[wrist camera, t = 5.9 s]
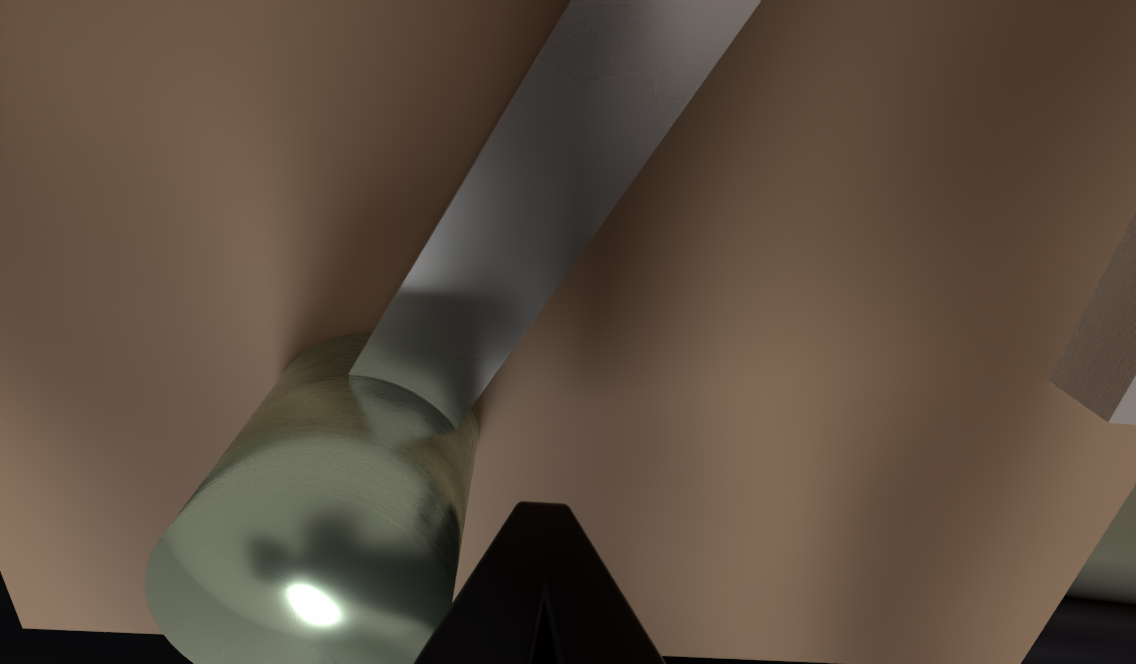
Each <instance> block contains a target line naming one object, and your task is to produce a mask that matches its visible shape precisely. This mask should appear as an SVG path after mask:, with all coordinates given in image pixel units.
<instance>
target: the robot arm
mask: <svg viewBox="0 0 1136 664" xmlns="http://www.w3.org/2000/svg"><path fill="white" fill-rule="evenodd" d="M413 664H666V663H665V661H664V659H663V658H662V656H661V655H660V653H659V651H658V650H657V648H656V646H655V645H654V643H653V642H652V640H651V638H650V637H649V635H648V633H647V632H646V630H645V629H644V627H643V625H642V624H641V622H640V620H639V619H638V617H637V616H636V614H635V612H634V611H633V609H632V607H631V606H630V604H629V603H628V601H627V599H626V598H625V596H624V594H623V593H622V591H621V590H620V588H619V586H618V585H617V583H616V581H615V580H614V578H613V577H612V575H611V573H610V572H609V570H608V568H607V567H606V565H605V564H604V562H603V560H602V559H601V557H600V555H599V554H598V552H597V551H596V549H595V547H594V546H593V544H592V542H591V541H590V539H589V538H588V536H587V534H586V533H585V531H584V529H583V528H582V526H581V525H580V523H579V521H578V520H577V518H576V516H575V515H574V513H573V512H572V510H571V508H570V507H569V506H568V505H567V504H564V503H548V502H532V501H520V502H518V503H517V504H516V506H515V507H514V508H513V510H512V512H511V513H510V515H509V516H508V518H507V519H506V521H505V522H504V524H503V525H502V527H501V529H500V530H499V532H498V533H497V535H496V536H495V538H494V539H493V541H492V542H491V544H490V545H489V547H488V549H487V550H486V552H485V553H484V555H483V556H482V558H481V559H480V561H479V562H478V564H477V566H476V567H475V569H474V570H473V572H472V573H471V575H470V576H469V578H468V579H467V581H466V582H465V584H464V586H463V587H462V589H461V590H460V592H459V593H458V595H457V596H456V598H455V599H454V601H453V603H452V604H451V606H450V607H449V609H448V610H447V612H446V613H445V615H444V616H443V618H442V619H441V621H440V623H439V624H438V626H437V627H436V629H435V630H434V632H433V633H432V635H431V636H430V638H429V640H428V641H427V643H426V644H425V646H424V647H423V649H422V650H421V652H420V653H419V655H418V656H417V658H416V660H415V661H414V663H413Z"/></svg>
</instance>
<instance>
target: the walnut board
mask: <svg viewBox="0 0 1136 664" xmlns="http://www.w3.org/2000/svg"><path fill="white" fill-rule="evenodd" d="M570 1H571V0H0V571H1V573H2V576H3V579H4V581H5V584H6V586H7V589H8V591H9V594H10V597H11V599H12V602H13V604H14V607H15V609H16V612H17V615H18V617H19V620H20V622H21V625H22V627H23V628H31V629H54V630H78V631H101V632H124V633H147V634H163V633H162V631H161V630H160V628H159V626H158V625H157V623H156V622H155V620H154V618H153V616H152V613H151V611H150V608H149V606H148V602H147V597H146V593H145V573H146V568H147V563H148V560H149V558H150V555H151V553H152V550H153V549H154V547H155V546H156V544H157V543H158V541H159V540H160V538H161V537H162V535H163V534H164V533H165V531H166V530H167V529H168V527H169V526H170V525H171V523H172V522H173V521H174V519H175V518H176V516H177V515H178V514H179V512H180V511H181V510H182V508H183V507H184V506H185V504H186V503H187V502H188V500H189V499H190V498H191V496H192V495H193V494H194V492H195V491H196V490H197V488H198V487H199V486H200V484H201V483H202V482H203V480H204V479H205V478H206V476H207V475H208V474H209V472H210V471H211V470H212V468H213V467H214V466H215V464H216V463H217V462H218V460H219V459H220V457H221V456H222V455H223V453H224V452H225V451H226V449H227V448H228V447H229V445H230V444H231V443H232V441H233V440H234V439H235V437H236V436H237V435H238V433H239V432H240V431H241V429H242V428H243V427H244V425H245V424H246V423H247V421H248V420H249V419H250V417H251V416H252V415H253V413H254V412H255V411H256V409H257V408H258V407H259V405H260V404H261V403H262V401H263V400H264V398H265V397H266V396H267V394H268V393H269V392H270V390H271V389H272V388H273V386H274V385H275V384H276V382H277V381H278V380H279V378H280V377H281V376H282V374H283V373H284V372H285V370H286V369H287V368H288V366H289V365H290V364H291V363H292V362H293V361H294V360H295V359H296V358H297V357H298V356H299V355H301V354H302V353H303V352H305V351H306V350H307V349H309V348H311V347H313V346H314V345H316V344H318V343H321V342H323V341H326V340H328V339H331V338H335V337H339V336H343V335H351V334H371V333H372V331H373V329H374V328H375V326H376V324H377V323H378V321H379V319H380V318H381V316H382V314H383V313H384V311H385V309H386V308H387V306H388V304H389V303H390V301H391V299H392V298H393V296H394V294H395V293H396V291H397V289H398V288H399V286H400V284H401V283H402V281H403V279H404V278H405V276H406V274H407V273H408V271H409V269H410V268H411V266H412V264H413V263H414V261H415V259H416V258H417V256H418V254H419V253H420V251H421V249H422V248H423V246H424V244H425V243H426V241H427V239H428V238H429V236H430V234H431V233H432V231H433V229H434V228H435V226H436V224H437V223H438V221H439V219H440V218H441V216H442V214H443V213H444V211H445V209H446V208H447V206H448V204H449V203H450V201H451V199H452V198H453V196H454V194H455V193H456V191H457V189H458V188H459V186H460V184H461V183H462V181H463V179H464V178H465V176H466V174H467V173H468V171H469V169H470V168H471V166H472V164H473V163H474V161H475V159H476V158H477V156H478V154H479V153H480V151H481V149H482V148H483V146H484V144H485V143H486V141H487V139H488V138H489V136H490V134H491V133H492V131H493V129H494V128H495V126H496V124H497V123H498V121H499V119H500V118H501V116H502V114H503V113H504V111H505V109H506V108H507V106H508V104H509V103H510V101H511V99H512V98H513V96H514V94H515V93H516V91H517V89H518V88H519V86H520V84H521V83H522V81H523V79H524V78H525V76H526V74H527V73H528V71H529V69H530V68H531V66H532V64H533V63H534V61H535V59H536V58H537V56H538V54H539V52H540V51H541V49H542V47H543V46H544V44H545V42H546V41H547V39H548V37H549V36H550V34H551V32H552V31H553V29H554V27H555V26H556V24H557V22H558V21H559V19H560V17H561V16H562V14H563V12H564V11H565V9H566V7H567V6H568V4H569V2H570ZM1135 211H1136V0H761V2H760V3H759V4H758V6H757V7H756V9H755V10H754V11H753V13H752V14H751V16H750V17H749V18H748V20H747V21H746V23H745V24H744V26H743V27H742V28H741V30H740V31H739V33H738V34H737V35H736V37H735V38H734V40H733V41H732V42H731V44H730V45H729V47H728V48H727V49H726V51H725V52H724V54H723V55H722V56H721V58H720V59H719V61H718V62H717V63H716V65H715V66H714V68H713V69H712V70H711V72H710V73H709V75H708V76H707V77H706V79H705V80H704V82H703V83H702V84H701V86H700V87H699V89H698V90H697V91H696V93H695V94H694V96H693V97H692V98H691V100H690V101H689V103H688V104H687V106H686V107H685V108H684V110H683V111H682V113H681V114H680V115H679V117H678V118H677V120H676V121H675V122H674V124H673V125H672V127H671V128H670V129H669V131H668V132H667V134H666V135H665V136H664V138H663V139H662V141H661V142H660V143H659V145H658V146H657V148H656V149H655V150H654V152H653V153H652V155H651V156H650V157H649V159H648V160H647V162H646V163H645V164H644V166H643V167H642V169H641V170H640V171H639V173H638V174H637V176H636V177H635V179H634V180H633V181H632V183H631V184H630V186H629V187H628V188H627V190H626V191H625V193H624V194H623V195H622V197H621V198H620V200H619V201H618V202H617V204H616V205H615V207H614V208H613V209H612V211H611V212H610V214H609V215H608V216H607V218H606V219H605V221H604V222H603V223H602V225H601V226H600V228H599V229H598V230H597V232H596V233H595V235H594V236H593V237H592V239H591V240H590V242H589V243H588V244H587V246H586V247H585V249H584V250H583V251H582V253H581V254H580V256H579V257H578V259H577V260H576V261H575V263H574V264H573V266H572V267H571V268H570V270H569V271H568V273H567V274H566V275H565V277H564V278H563V280H562V281H561V282H560V284H559V285H558V287H557V288H556V289H555V291H554V292H553V294H552V295H551V296H550V298H549V299H548V301H547V302H546V303H545V305H544V306H543V308H542V309H541V310H540V312H539V313H538V315H537V316H536V317H535V319H534V320H533V322H532V323H531V324H530V326H529V327H528V329H527V330H526V331H525V333H524V334H523V336H522V337H521V339H520V340H519V341H518V343H517V344H516V346H515V347H514V348H513V350H512V351H511V353H510V354H509V355H508V357H507V358H506V360H505V361H504V362H503V364H502V365H501V367H500V368H499V369H498V371H497V372H496V374H495V375H494V376H493V378H492V379H491V381H490V382H489V383H488V385H487V386H486V388H485V389H484V390H483V392H482V393H481V395H480V396H479V397H478V399H477V400H476V402H475V405H476V409H477V413H478V419H479V434H478V442H477V449H476V455H475V461H474V468H473V474H472V480H471V487H470V493H469V499H468V506H467V512H466V519H465V525H464V531H463V538H462V544H461V550H460V557H459V563H458V569H457V576H456V582H455V588H454V595H453V601H454V599H455V598H456V596H457V595H458V593H459V592H460V590H461V589H462V587H463V586H464V584H465V582H466V581H467V579H468V578H469V576H470V575H471V573H472V572H473V570H474V569H475V567H476V566H477V564H478V562H479V561H480V559H481V558H482V556H483V555H484V553H485V552H486V550H487V549H488V547H489V545H490V544H491V542H492V541H493V539H494V538H495V536H496V535H497V533H498V532H499V530H500V529H501V527H502V525H503V524H504V522H505V521H506V519H507V518H508V516H509V515H510V513H511V512H512V510H513V508H514V507H515V506H516V504H517V503H518V502H520V501H532V502H548V503H564V504H567V505H568V506H569V507H570V508H571V510H572V512H573V513H574V515H575V516H576V518H577V520H578V521H579V523H580V525H581V526H582V528H583V529H584V531H585V533H586V534H587V536H588V538H589V539H590V541H591V542H592V544H593V546H594V547H595V549H596V551H597V552H598V554H599V555H600V557H601V559H602V560H603V562H604V564H605V565H606V567H607V568H608V570H609V572H610V573H611V575H612V577H613V578H614V580H615V581H616V583H617V585H618V586H619V588H620V590H621V591H622V593H623V594H624V596H625V598H626V599H627V601H628V603H629V604H630V606H631V607H632V609H633V611H634V612H635V614H636V616H637V617H638V619H639V620H640V622H641V624H642V625H643V627H644V629H645V630H646V632H647V633H648V635H649V637H650V638H651V640H652V642H653V643H654V645H655V646H656V648H657V650H658V651H659V653H660V655H661V656H681V657H704V658H727V659H750V660H773V661H797V662H820V663H843V664H1021V662H1022V661H1023V659H1024V657H1025V656H1026V654H1027V653H1028V651H1029V650H1030V648H1031V647H1032V645H1033V643H1034V642H1035V640H1036V639H1037V637H1038V636H1039V634H1040V633H1041V631H1042V629H1043V628H1044V626H1045V625H1046V623H1047V622H1048V620H1049V619H1050V617H1051V615H1052V614H1053V612H1054V611H1055V609H1056V608H1057V606H1058V604H1059V603H1060V601H1061V600H1062V598H1063V597H1064V595H1065V594H1066V592H1067V590H1068V589H1069V587H1070V586H1071V584H1072V583H1073V581H1074V580H1075V578H1076V576H1077V575H1078V573H1079V572H1080V570H1081V569H1082V567H1083V566H1084V564H1085V562H1086V561H1087V559H1088V558H1089V556H1090V555H1091V553H1092V551H1093V550H1094V548H1095V547H1096V545H1097V544H1098V542H1099V541H1100V539H1101V537H1102V536H1103V534H1104V533H1105V531H1106V530H1107V528H1108V527H1109V525H1110V523H1111V522H1112V520H1113V519H1114V517H1115V516H1116V514H1117V513H1118V511H1119V509H1120V508H1121V506H1122V505H1123V503H1124V502H1125V500H1126V498H1127V497H1128V495H1129V494H1130V492H1131V491H1132V489H1133V488H1134V486H1135V484H1136V425H1132V424H1119V423H1108V422H1106V421H1105V420H1104V419H1102V418H1101V417H1099V416H1098V415H1097V414H1095V413H1094V412H1092V411H1091V410H1089V409H1088V408H1087V407H1085V406H1084V405H1082V404H1081V403H1079V402H1078V401H1077V400H1075V399H1074V398H1072V397H1071V396H1070V395H1068V394H1067V393H1065V392H1064V391H1062V390H1061V389H1060V388H1058V387H1057V386H1055V385H1054V384H1053V383H1051V382H1050V381H1048V380H1049V378H1050V376H1051V374H1052V372H1053V370H1054V368H1055V366H1056V364H1057V362H1058V360H1059V358H1060V357H1061V355H1062V353H1063V351H1064V349H1065V347H1066V345H1067V343H1068V341H1069V339H1070V337H1071V335H1072V333H1073V331H1074V329H1075V327H1076V326H1077V324H1078V322H1079V320H1080V318H1081V316H1082V314H1083V312H1084V310H1085V308H1086V306H1087V304H1088V302H1089V300H1090V298H1091V297H1092V295H1093V293H1094V291H1095V289H1096V287H1097V285H1098V283H1099V281H1100V279H1101V277H1102V275H1103V273H1104V271H1105V269H1106V268H1107V266H1108V264H1109V262H1110V260H1111V258H1112V256H1113V254H1114V252H1115V250H1116V248H1117V246H1118V244H1119V242H1120V240H1121V239H1122V237H1123V235H1124V233H1125V231H1126V229H1127V227H1128V225H1129V223H1130V221H1131V219H1132V217H1133V215H1134V213H1135ZM453 601H452V603H453Z"/></svg>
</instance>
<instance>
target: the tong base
mask: <svg viewBox="0 0 1136 664" xmlns="http://www.w3.org/2000/svg"><path fill="white" fill-rule="evenodd" d="M1048 381H1050V382H1051V383H1053V384H1054V385H1055V386H1057V387H1058V388H1060V389H1061V390H1062V391H1064V392H1065V393H1067V394H1068V395H1070V396H1071V397H1072V398H1074V399H1075V400H1077V401H1078V402H1079V403H1081V404H1082V405H1084V406H1085V407H1087V408H1088V409H1089V410H1091V411H1092V412H1094V413H1095V414H1097V415H1098V416H1099V417H1101V418H1102V419H1104V420H1105V421H1106V422H1108V423H1119V424H1132V425H1136V211H1135V213H1134V215H1133V217H1132V219H1131V221H1130V223H1129V225H1128V227H1127V229H1126V231H1125V233H1124V235H1123V237H1122V239H1121V240H1120V242H1119V244H1118V246H1117V248H1116V250H1115V252H1114V254H1113V256H1112V258H1111V260H1110V262H1109V264H1108V266H1107V268H1106V269H1105V271H1104V273H1103V275H1102V277H1101V279H1100V281H1099V283H1098V285H1097V287H1096V289H1095V291H1094V293H1093V295H1092V297H1091V298H1090V300H1089V302H1088V304H1087V306H1086V308H1085V310H1084V312H1083V314H1082V316H1081V318H1080V320H1079V322H1078V324H1077V326H1076V327H1075V329H1074V331H1073V333H1072V335H1071V337H1070V339H1069V341H1068V343H1067V345H1066V347H1065V349H1064V351H1063V353H1062V355H1061V357H1060V358H1059V360H1058V362H1057V364H1056V366H1055V368H1054V370H1053V372H1052V374H1051V376H1050V378H1049V380H1048Z"/></svg>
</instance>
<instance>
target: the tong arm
mask: <svg viewBox="0 0 1136 664" xmlns="http://www.w3.org/2000/svg"><path fill="white" fill-rule="evenodd" d="M760 2H761V0H571V1H570V2H569V4H568V6H567V7H566V9H565V11H564V12H563V14H562V16H561V17H560V19H559V21H558V22H557V24H556V26H555V27H554V29H553V31H552V32H551V34H550V36H549V37H548V39H547V41H546V42H545V44H544V46H543V47H542V49H541V51H540V52H539V54H538V56H537V58H536V59H535V61H534V63H533V64H532V66H531V68H530V69H529V71H528V73H527V74H526V76H525V78H524V79H523V81H522V83H521V84H520V86H519V88H518V89H517V91H516V93H515V94H514V96H513V98H512V99H511V101H510V103H509V104H508V106H507V108H506V109H505V111H504V113H503V114H502V116H501V118H500V119H499V121H498V123H497V124H496V126H495V128H494V129H493V131H492V133H491V134H490V136H489V138H488V139H487V141H486V143H485V144H484V146H483V148H482V149H481V151H480V153H479V154H478V156H477V158H476V159H475V161H474V163H473V164H472V166H471V168H470V169H469V171H468V173H467V174H466V176H465V178H464V179H463V181H462V183H461V184H460V186H459V188H458V189H457V191H456V193H455V194H454V196H453V198H452V199H451V201H450V203H449V204H448V206H447V208H446V209H445V211H444V213H443V214H442V216H441V218H440V219H439V221H438V223H437V224H436V226H435V228H434V229H433V231H432V233H431V234H430V236H429V238H428V239H427V241H426V243H425V244H424V246H423V248H422V249H421V251H420V253H419V254H418V256H417V258H416V259H415V261H414V263H413V264H412V266H411V268H410V269H409V271H408V273H407V274H406V276H405V278H404V279H403V281H402V283H401V284H400V286H399V288H398V289H397V291H396V293H395V294H394V296H393V298H392V299H391V301H390V303H389V304H388V306H387V308H386V309H385V311H384V313H383V314H382V316H381V318H380V319H379V321H378V323H377V324H376V326H375V328H374V329H373V331H372V333H371V334H351V335H343V336H339V337H335V338H331V339H328V340H326V341H323V342H321V343H318V344H316V345H314V346H313V347H311V348H309V349H307V350H306V351H305V352H303V353H302V354H301V355H299V356H298V357H297V358H296V359H295V360H294V361H293V362H292V363H291V364H290V365H289V366H288V368H287V369H286V370H285V372H284V373H283V374H282V376H281V377H280V378H279V380H278V381H277V382H276V384H275V385H274V386H273V388H272V389H271V390H270V392H269V393H268V394H267V396H266V397H265V398H264V400H263V401H262V403H261V404H260V405H259V407H258V408H257V409H256V411H255V412H254V413H253V415H252V416H251V417H250V419H249V420H248V421H247V423H246V424H245V425H244V427H243V428H242V429H241V431H240V432H239V433H238V435H237V436H236V437H235V439H234V440H233V441H232V443H231V444H230V445H229V447H228V448H227V449H226V451H225V452H224V453H223V455H222V456H221V457H220V459H219V460H218V462H217V463H216V464H215V466H214V467H213V468H212V470H211V471H210V472H209V474H208V475H207V476H206V478H205V479H204V480H203V482H202V483H201V484H200V486H199V487H198V488H197V490H196V491H195V492H194V494H193V495H192V496H191V498H190V499H189V500H188V502H187V503H186V504H185V506H184V507H183V508H182V510H181V511H180V512H179V514H178V515H177V516H176V518H175V519H174V521H173V522H172V523H171V525H170V526H169V527H168V529H167V530H166V531H165V533H164V534H163V535H162V537H161V538H160V540H159V541H158V543H157V544H156V546H155V547H154V549H153V550H152V553H151V555H150V558H149V560H148V563H147V568H146V573H145V593H146V597H147V602H148V606H149V608H150V611H151V613H152V616H153V618H154V620H155V622H156V623H157V625H158V626H159V628H160V630H161V631H162V633H163V634H164V635H165V636H166V638H167V639H168V640H169V641H170V643H171V644H172V645H173V646H174V647H175V648H176V649H177V650H178V651H180V652H181V653H182V654H183V655H184V656H185V657H186V658H188V659H189V660H190V661H192V662H193V663H194V664H413V663H414V661H415V660H416V658H417V656H418V655H419V653H420V652H421V650H422V649H423V647H424V646H425V644H426V643H427V641H428V640H429V638H430V636H431V635H432V633H433V632H434V630H435V629H436V627H437V626H438V624H439V623H440V621H441V619H442V618H443V616H444V615H445V613H446V612H447V610H448V609H449V607H450V606H451V604H452V601H453V595H454V588H455V582H456V576H457V569H458V563H459V557H460V550H461V544H462V538H463V531H464V525H465V519H466V512H467V506H468V499H469V493H470V487H471V480H472V474H473V468H474V461H475V455H476V449H477V442H478V434H479V419H478V413H477V409H476V405H475V402H476V400H477V399H478V397H479V396H480V395H481V393H482V392H483V390H484V389H485V388H486V386H487V385H488V383H489V382H490V381H491V379H492V378H493V376H494V375H495V374H496V372H497V371H498V369H499V368H500V367H501V365H502V364H503V362H504V361H505V360H506V358H507V357H508V355H509V354H510V353H511V351H512V350H513V348H514V347H515V346H516V344H517V343H518V341H519V340H520V339H521V337H522V336H523V334H524V333H525V331H526V330H527V329H528V327H529V326H530V324H531V323H532V322H533V320H534V319H535V317H536V316H537V315H538V313H539V312H540V310H541V309H542V308H543V306H544V305H545V303H546V302H547V301H548V299H549V298H550V296H551V295H552V294H553V292H554V291H555V289H556V288H557V287H558V285H559V284H560V282H561V281H562V280H563V278H564V277H565V275H566V274H567V273H568V271H569V270H570V268H571V267H572V266H573V264H574V263H575V261H576V260H577V259H578V257H579V256H580V254H581V253H582V251H583V250H584V249H585V247H586V246H587V244H588V243H589V242H590V240H591V239H592V237H593V236H594V235H595V233H596V232H597V230H598V229H599V228H600V226H601V225H602V223H603V222H604V221H605V219H606V218H607V216H608V215H609V214H610V212H611V211H612V209H613V208H614V207H615V205H616V204H617V202H618V201H619V200H620V198H621V197H622V195H623V194H624V193H625V191H626V190H627V188H628V187H629V186H630V184H631V183H632V181H633V180H634V179H635V177H636V176H637V174H638V173H639V171H640V170H641V169H642V167H643V166H644V164H645V163H646V162H647V160H648V159H649V157H650V156H651V155H652V153H653V152H654V150H655V149H656V148H657V146H658V145H659V143H660V142H661V141H662V139H663V138H664V136H665V135H666V134H667V132H668V131H669V129H670V128H671V127H672V125H673V124H674V122H675V121H676V120H677V118H678V117H679V115H680V114H681V113H682V111H683V110H684V108H685V107H686V106H687V104H688V103H689V101H690V100H691V98H692V97H693V96H694V94H695V93H696V91H697V90H698V89H699V87H700V86H701V84H702V83H703V82H704V80H705V79H706V77H707V76H708V75H709V73H710V72H711V70H712V69H713V68H714V66H715V65H716V63H717V62H718V61H719V59H720V58H721V56H722V55H723V54H724V52H725V51H726V49H727V48H728V47H729V45H730V44H731V42H732V41H733V40H734V38H735V37H736V35H737V34H738V33H739V31H740V30H741V28H742V27H743V26H744V24H745V23H746V21H747V20H748V18H749V17H750V16H751V14H752V13H753V11H754V10H755V9H756V7H757V6H758V4H759V3H760Z"/></svg>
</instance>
